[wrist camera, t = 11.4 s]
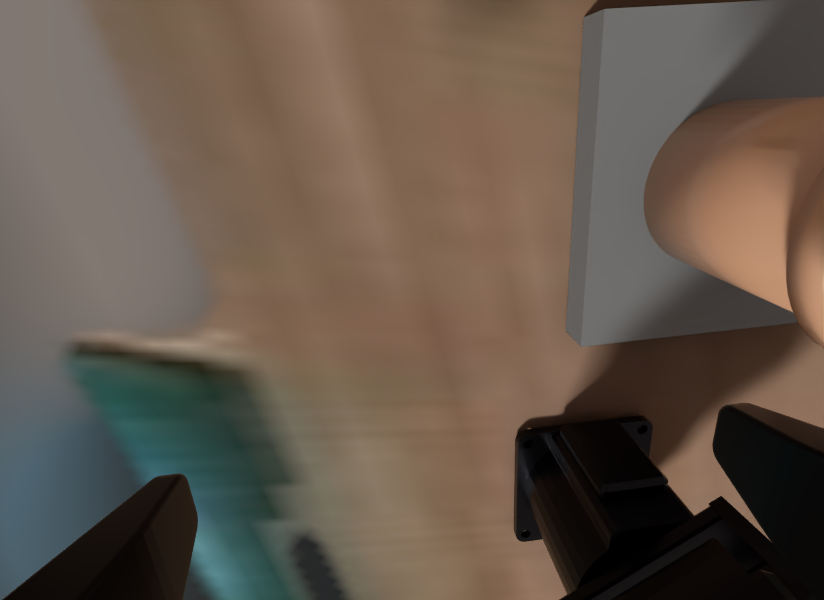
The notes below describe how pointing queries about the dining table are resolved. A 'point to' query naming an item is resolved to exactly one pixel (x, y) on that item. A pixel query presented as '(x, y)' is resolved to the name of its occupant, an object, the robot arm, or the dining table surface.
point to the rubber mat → (641, 141)
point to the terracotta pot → (747, 200)
